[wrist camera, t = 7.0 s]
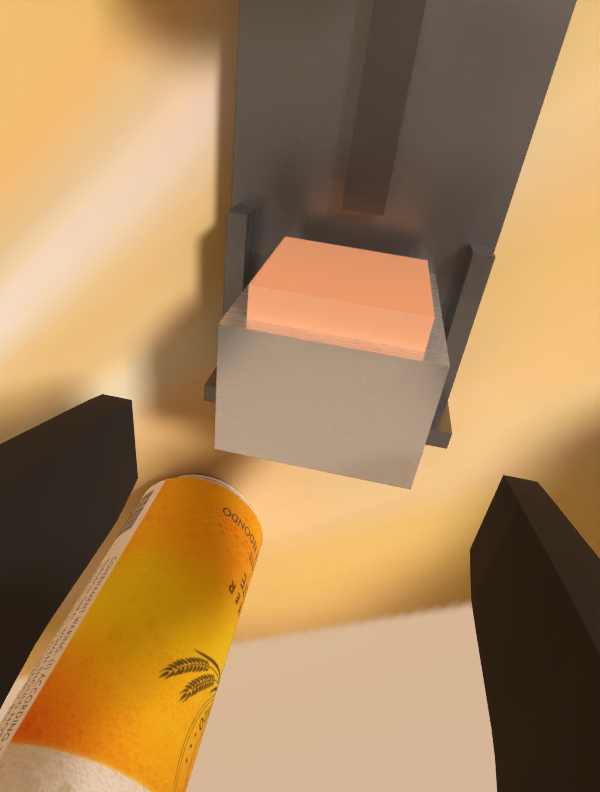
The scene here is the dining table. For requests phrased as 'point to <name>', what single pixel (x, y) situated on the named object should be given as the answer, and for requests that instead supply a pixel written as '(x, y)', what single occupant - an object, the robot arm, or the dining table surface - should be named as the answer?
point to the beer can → (138, 650)
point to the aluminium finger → (333, 362)
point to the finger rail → (387, 137)
